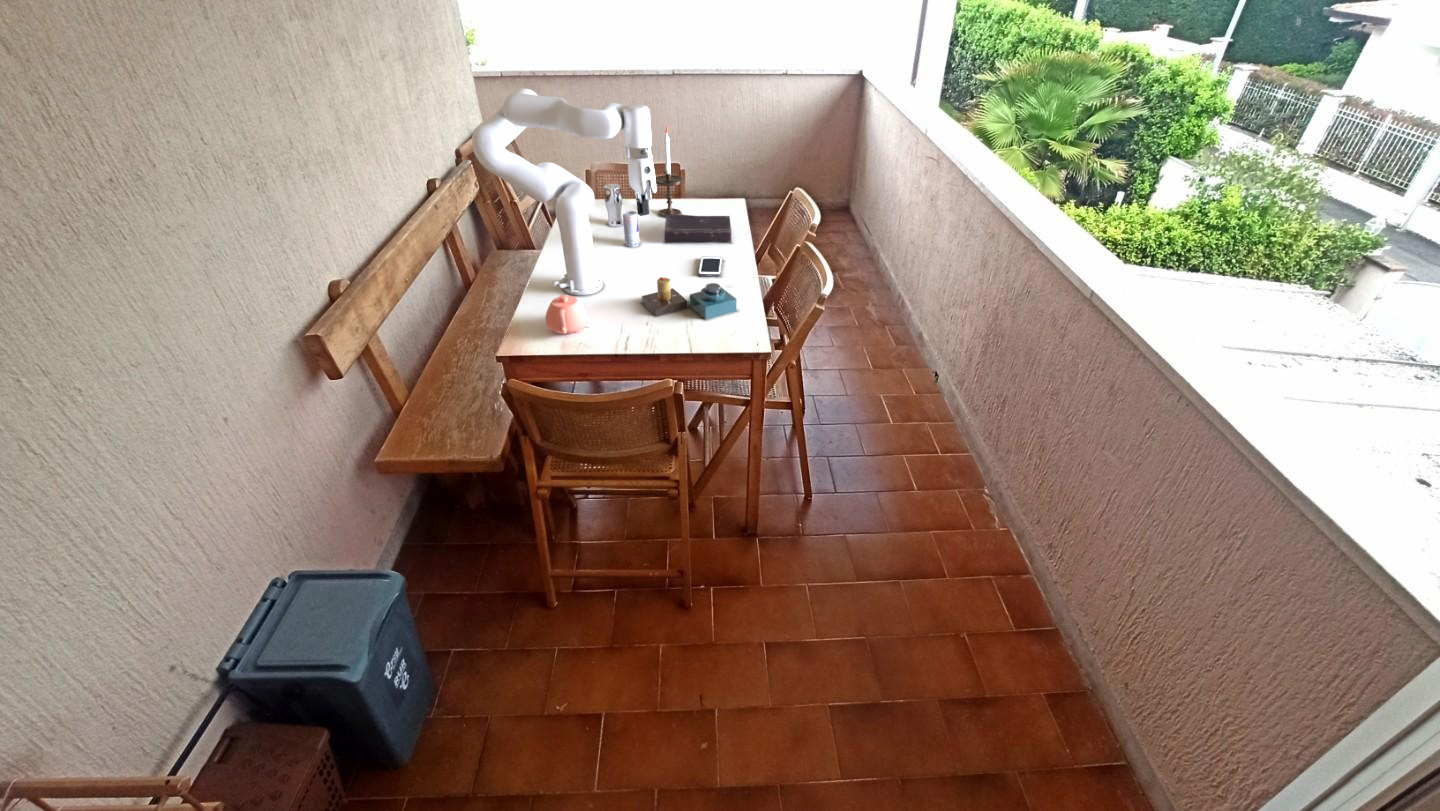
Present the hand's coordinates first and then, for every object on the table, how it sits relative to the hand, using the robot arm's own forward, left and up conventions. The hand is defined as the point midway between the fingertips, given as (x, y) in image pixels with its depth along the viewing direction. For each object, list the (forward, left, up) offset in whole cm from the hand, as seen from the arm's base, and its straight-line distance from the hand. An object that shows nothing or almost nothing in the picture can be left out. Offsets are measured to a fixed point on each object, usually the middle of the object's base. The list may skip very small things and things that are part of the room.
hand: (643, 214), depth 196 cm
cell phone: (+26, +4, -25) cm, 36 cm away
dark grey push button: (+11, -23, -19) cm, 32 cm away
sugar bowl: (-32, -12, -25) cm, 43 cm away
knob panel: (0, -13, -25) cm, 28 cm away
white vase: (+14, +60, -25) cm, 67 cm away
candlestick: (+38, +59, -25) cm, 75 cm away
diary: (+37, +33, -25) cm, 56 cm away
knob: (0, -13, -23) cm, 26 cm away
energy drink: (+11, +37, -25) cm, 46 cm away
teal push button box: (+12, -22, -25) cm, 36 cm away
